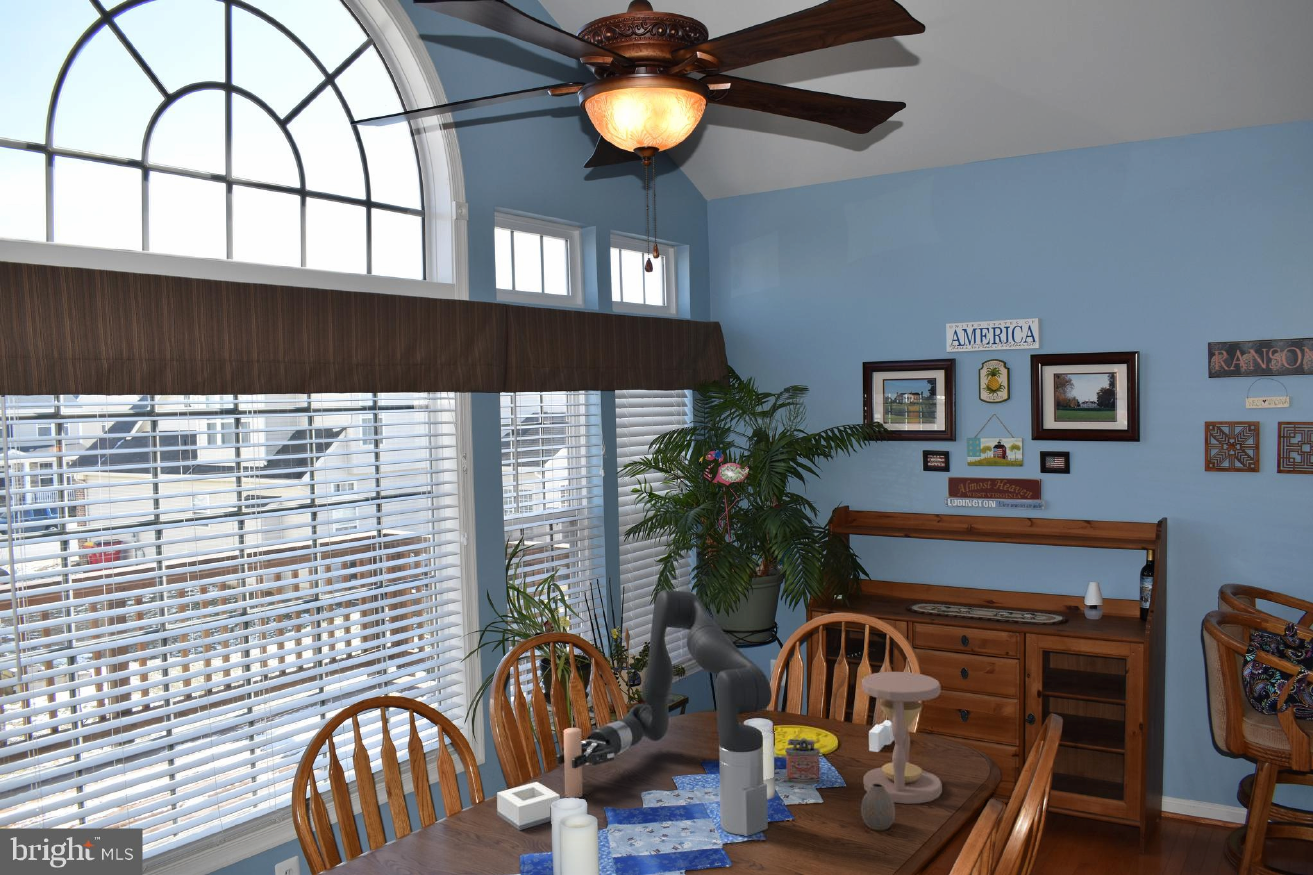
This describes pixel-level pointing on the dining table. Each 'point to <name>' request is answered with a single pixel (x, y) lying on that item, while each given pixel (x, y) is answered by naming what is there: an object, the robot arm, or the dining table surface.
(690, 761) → the dining table surface
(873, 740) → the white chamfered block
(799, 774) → the lighter
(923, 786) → the hourglass
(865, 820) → the vase
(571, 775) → the peg
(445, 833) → the dining table surface
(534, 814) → the bore block
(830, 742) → the decorative medallion
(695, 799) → the dining table surface
